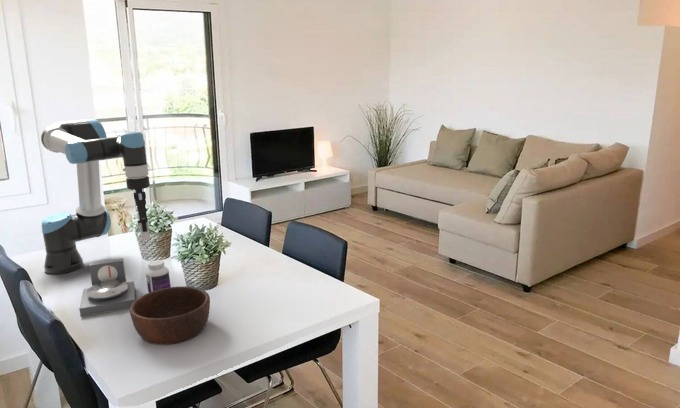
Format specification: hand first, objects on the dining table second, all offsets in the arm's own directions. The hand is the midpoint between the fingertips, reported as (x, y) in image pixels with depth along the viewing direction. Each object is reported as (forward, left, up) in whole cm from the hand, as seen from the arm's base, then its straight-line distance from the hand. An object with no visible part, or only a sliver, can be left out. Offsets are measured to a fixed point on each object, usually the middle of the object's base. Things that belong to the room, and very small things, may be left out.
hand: (144, 234), depth 193 cm
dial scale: (-7, -15, -26) cm, 31 cm away
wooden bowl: (+27, +6, -26) cm, 38 cm away
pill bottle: (0, +3, -26) cm, 26 cm away
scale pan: (-5, -15, -23) cm, 28 cm away
